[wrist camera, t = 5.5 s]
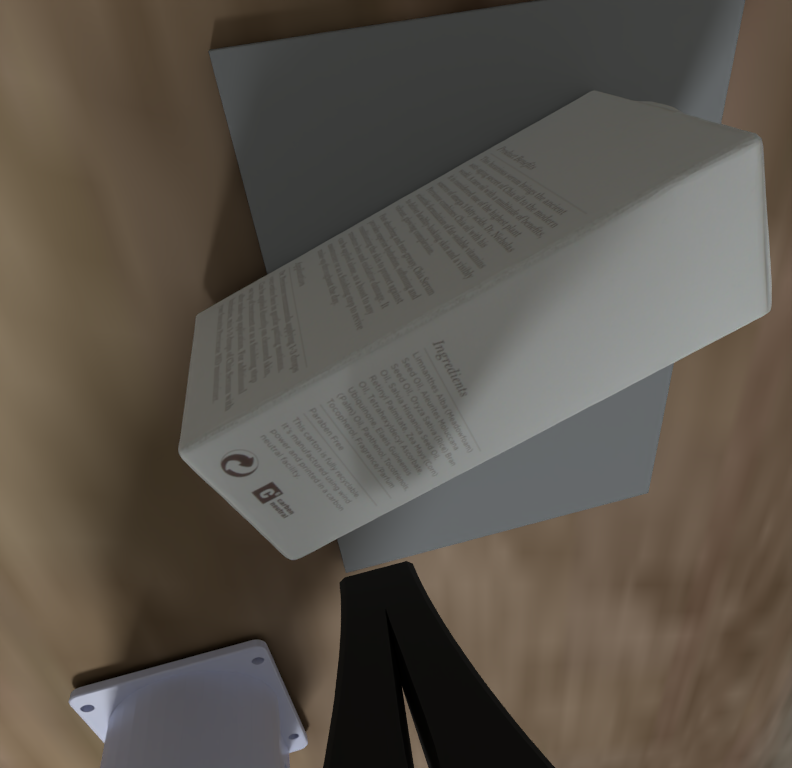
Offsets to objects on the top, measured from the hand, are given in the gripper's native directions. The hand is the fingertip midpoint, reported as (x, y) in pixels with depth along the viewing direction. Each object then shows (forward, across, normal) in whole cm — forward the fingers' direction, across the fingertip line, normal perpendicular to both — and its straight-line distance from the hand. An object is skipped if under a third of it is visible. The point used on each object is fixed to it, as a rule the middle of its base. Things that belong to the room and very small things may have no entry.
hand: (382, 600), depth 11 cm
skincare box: (+5, +3, -1) cm, 6 cm away
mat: (+8, -6, 0) cm, 10 cm away
